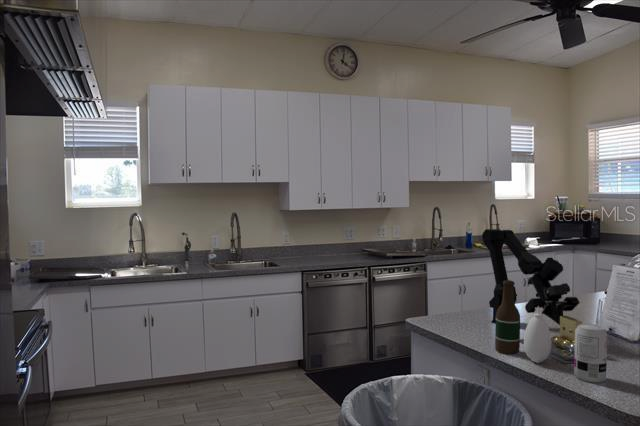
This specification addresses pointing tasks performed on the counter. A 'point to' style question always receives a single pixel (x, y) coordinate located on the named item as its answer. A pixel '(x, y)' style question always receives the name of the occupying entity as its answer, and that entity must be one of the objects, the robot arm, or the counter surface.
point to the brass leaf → (566, 332)
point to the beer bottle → (507, 322)
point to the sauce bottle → (537, 338)
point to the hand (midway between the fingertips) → (562, 325)
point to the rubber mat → (553, 347)
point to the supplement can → (590, 353)
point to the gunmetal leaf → (565, 352)
